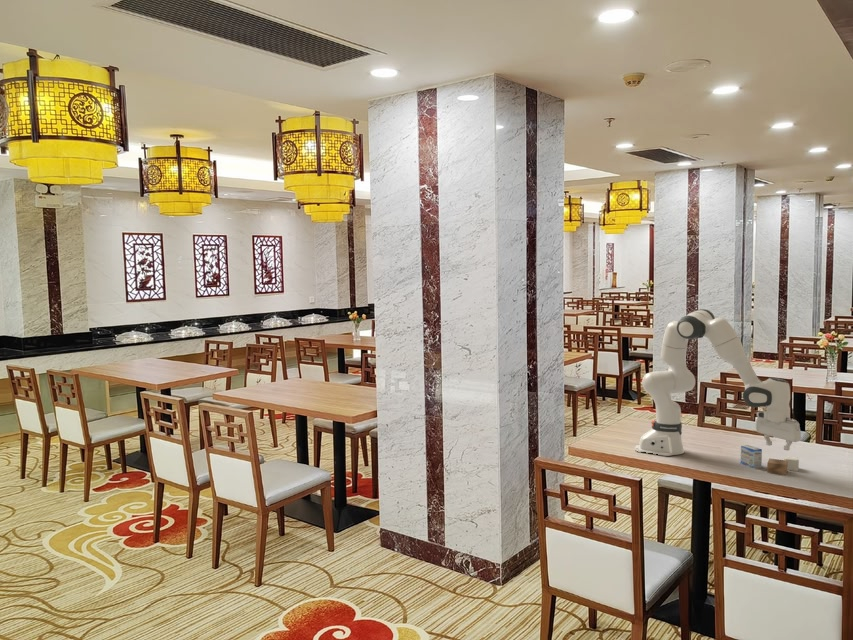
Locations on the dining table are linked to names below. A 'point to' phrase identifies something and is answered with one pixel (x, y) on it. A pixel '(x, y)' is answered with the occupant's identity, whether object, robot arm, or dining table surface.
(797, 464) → the cream block
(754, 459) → the medicine box
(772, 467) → the walnut block
